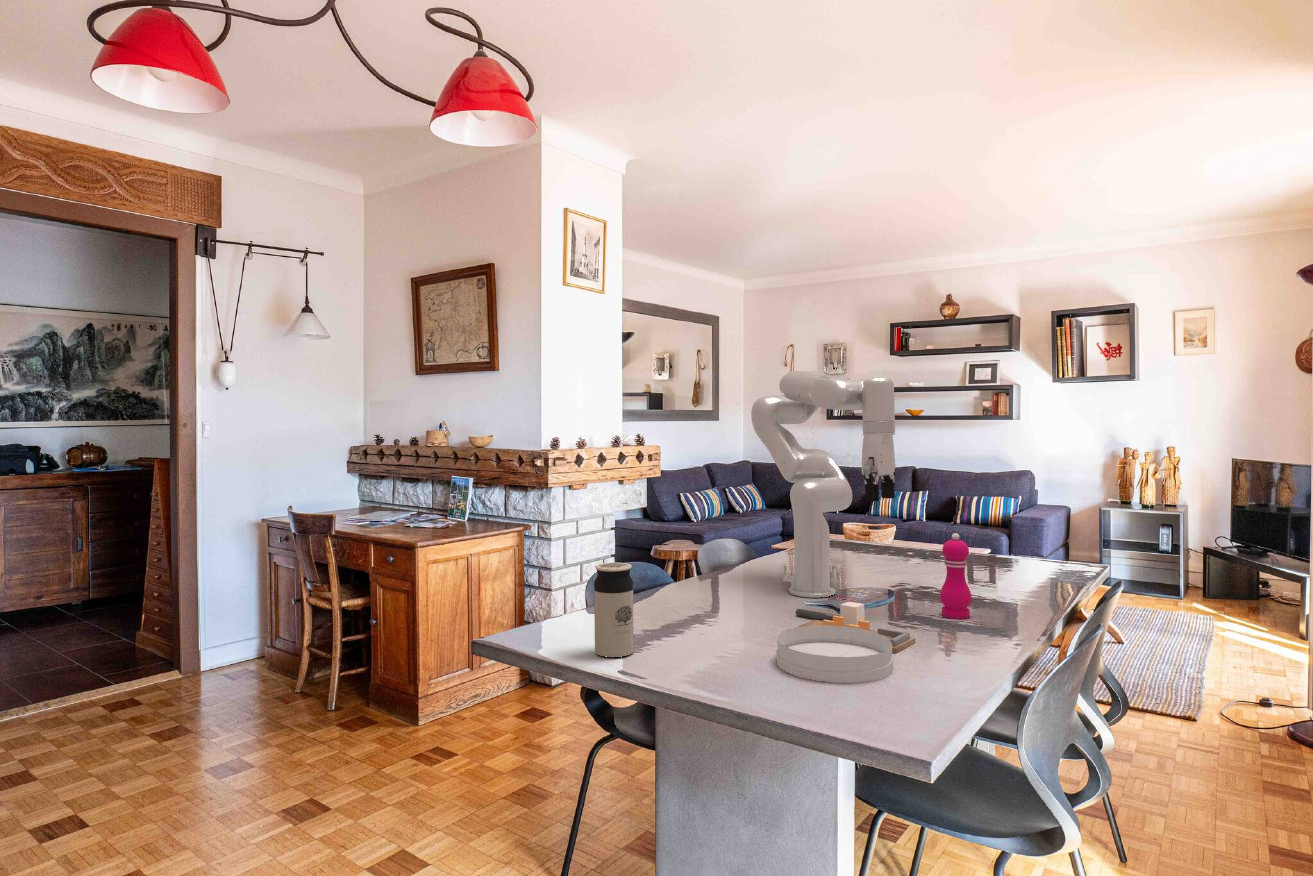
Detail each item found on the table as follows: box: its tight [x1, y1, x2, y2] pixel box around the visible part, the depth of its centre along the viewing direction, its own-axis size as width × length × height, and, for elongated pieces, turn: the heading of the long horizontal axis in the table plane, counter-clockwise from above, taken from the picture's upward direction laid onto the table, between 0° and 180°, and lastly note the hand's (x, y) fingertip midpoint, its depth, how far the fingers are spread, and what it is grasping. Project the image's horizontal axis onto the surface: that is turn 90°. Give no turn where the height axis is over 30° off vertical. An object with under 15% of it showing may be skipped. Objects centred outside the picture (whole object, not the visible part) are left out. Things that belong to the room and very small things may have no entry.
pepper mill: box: [939, 533, 973, 620], centre depth 185 cm, size 7×7×20 cm
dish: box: [776, 625, 894, 684], centre depth 149 cm, size 22×22×5 cm
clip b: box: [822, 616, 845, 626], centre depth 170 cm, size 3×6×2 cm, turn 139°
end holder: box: [877, 627, 911, 646], centre depth 162 cm, size 7×8×1 cm
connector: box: [795, 601, 865, 626], centre depth 181 cm, size 17×4×5 cm, turn 49°
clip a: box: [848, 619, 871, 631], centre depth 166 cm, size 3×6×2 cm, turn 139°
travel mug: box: [593, 562, 635, 658], centre depth 157 cm, size 8×8×18 cm
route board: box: [794, 619, 916, 654], centre depth 167 cm, size 24×10×1 cm, turn 49°
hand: (880, 499), depth 186 cm, fingers open, 9 cm apart
